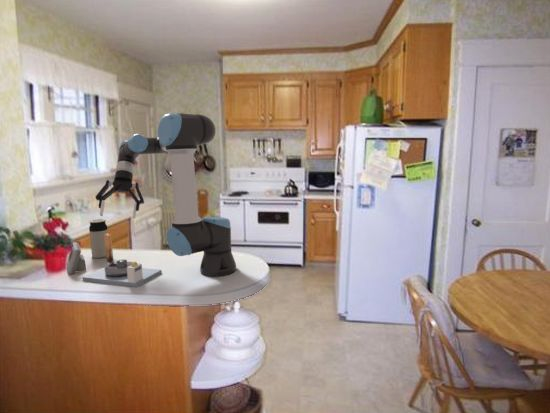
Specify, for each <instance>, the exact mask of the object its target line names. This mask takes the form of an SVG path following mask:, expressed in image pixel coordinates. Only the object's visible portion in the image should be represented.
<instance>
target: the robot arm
mask: <svg viewBox="0 0 550 413" xmlns="http://www.w3.org/2000/svg"><path fill="white" fill-rule="evenodd" d="M216 131H217V130H216V126H215V123H214V122H213V120H212V119H211V118H209V116H206V115H203V114H200V113H199V114H197V113H196V114H195V113H194V114H192V113H182V112H181V113H179V112H176V113H175V112H174V113H167V114H164V115H163V116H162V118H160V121H159V122H158V127H157V137H146V136H145V135H143V134H140V133H136V134H133V136H131V137H130V138H129V139H128V140H124V141H122V142H120V145H119V148H118V157H117V163H116V166H115V167H116V168H115V174H114V180H113V181H111V180H109V179H107V180H106V181H105V184H104V185H103V186H102V187H101V189H100V190H99V191H98V193H97V194H96V195H95V199H96V201H99V202H98V208H99V215H100V217H104V210H105V204H106V202H105V200H107V199H108V198H110V197H111V196H112V195H113V194H115V193H123V194H124V193H128V195H129V196H130V197H131V198H132V199H133V201H134V204H133V213H132V219H136V216H137V212H139V210H140V205H141V204H142V205H143V204H145V200H144V197H143V194H142V193H141V190H140V185H139V183H138V182H135V183H133V177H134V172H135V171H134V170H135V163H136V158H138V157H139V156H140V155H154V154H155V155H156V154H166V155H167V154H169V156H170V168H171V180H172V194H173V203H174V204H173V205H174V218H173V219H172V220H171V227H170V228H168V229H167V231H166V242H167V245H168V247H169V248H170V250H171V251H172V253H174V255H176V256H177V257H178V256H179V257H184V256H191V255H193V254H197V253H201V252H203V255H202V259H201V262H200V266H199V268H200V273H201V274H202V275H203V276H206V277H224V276H228V275H231V274H234V273H235V272H236V271H237V264H236V261H235V258H234V255H233V252H232V236H231V235H232V231H231V230H232V227H231V220H230V219H228V218H226V217H221V216H203V217H200V216H199V212H198V200H197V198H198V197H197V187H196V185H197V184H196V174H195V173H196V171H195V158H194V154H195V153H196V151H197V150H198V146H202V145H206V144H209V143H210V142H212V141H213V140H214V138H215V136H216ZM111 186H112V187H111ZM110 187H111V188H110ZM109 188H110V189H109ZM132 188H134V189H135V190H136V193H137V196H138V197H137V196H136V195H135V194H134V191H132ZM107 190H108V191H107Z"/></svg>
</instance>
